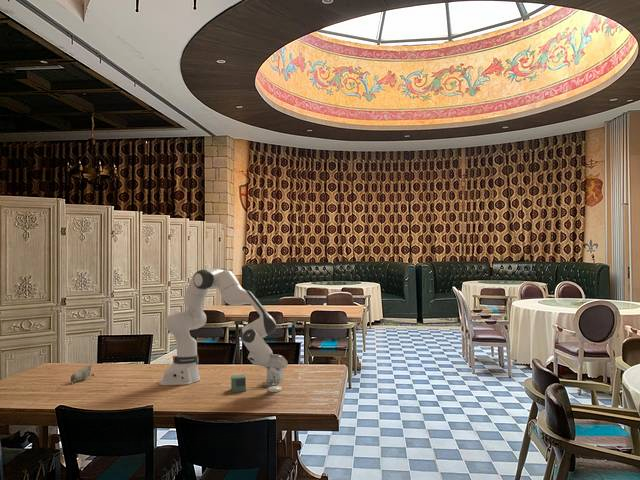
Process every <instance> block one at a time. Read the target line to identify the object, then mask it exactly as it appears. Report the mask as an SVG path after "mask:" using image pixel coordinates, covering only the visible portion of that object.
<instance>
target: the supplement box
mask: <svg viewBox="0 0 640 480" xmlns="http://www.w3.org/2000/svg"><path fill="white" fill-rule="evenodd" d="M283 380H284V369H283V368H282V370H281V371H280V381H279V382H276V383H277V384H280V383H281V382H282V381H283ZM267 382H270V370H268V369H267V368H266V383H267Z"/></svg>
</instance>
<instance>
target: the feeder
mask: <svg viewBox="0 0 640 480" xmlns="http://www.w3.org/2000/svg"><path fill="white" fill-rule="evenodd" d="M246 382H247V381H246V375H245V374H236V375H230V386H231V387H230V389H231V393H236V392H237V393H238V392H246V390H247V388H246Z"/></svg>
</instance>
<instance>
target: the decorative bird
mask: <svg viewBox="0 0 640 480" xmlns="http://www.w3.org/2000/svg"><path fill="white" fill-rule="evenodd" d="M92 367H94V365H93V364H89V365H87V366H86V367H84V368H81V369H79V370H78V371H75V372H73V373H72V374H71V375H70V383H71V382H74V383H75V382H80V381H79V380H82V381H83V380H86V379H87V378H89V377H92V376H94V377H95V373H94V372H93V373H92ZM88 376H89V377H88ZM85 378H86V379H85Z"/></svg>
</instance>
